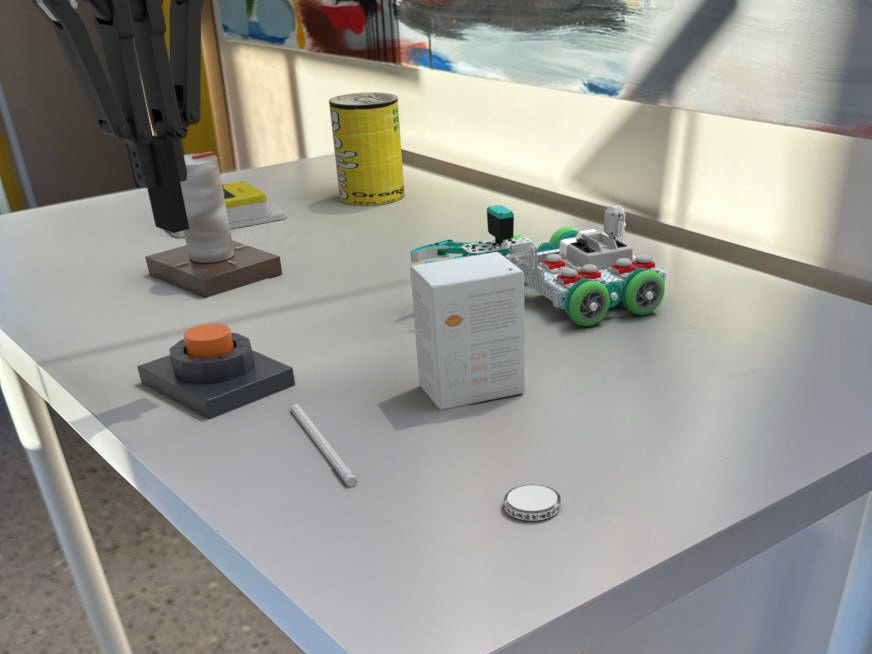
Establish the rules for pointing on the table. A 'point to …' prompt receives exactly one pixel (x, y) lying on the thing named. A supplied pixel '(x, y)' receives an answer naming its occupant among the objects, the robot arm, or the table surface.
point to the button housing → (216, 378)
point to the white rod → (324, 446)
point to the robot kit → (570, 265)
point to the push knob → (208, 340)
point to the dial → (205, 210)
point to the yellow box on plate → (246, 206)
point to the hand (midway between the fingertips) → (172, 227)
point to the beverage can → (367, 148)
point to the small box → (469, 329)
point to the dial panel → (214, 269)
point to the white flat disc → (532, 502)
